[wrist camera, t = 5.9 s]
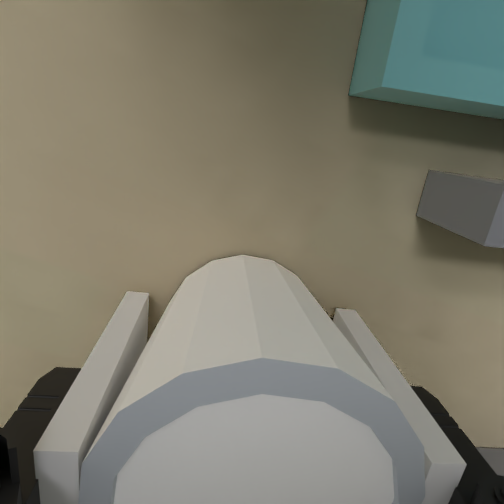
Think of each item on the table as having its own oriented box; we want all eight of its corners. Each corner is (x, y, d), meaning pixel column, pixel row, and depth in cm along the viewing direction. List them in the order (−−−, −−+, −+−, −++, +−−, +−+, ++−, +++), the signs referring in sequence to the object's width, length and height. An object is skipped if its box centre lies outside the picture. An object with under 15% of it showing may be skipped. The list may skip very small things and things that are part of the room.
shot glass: (109, 327, 13) (-6, 528, 7) (242, 197, 12) (265, 282, 5) (240, 426, 15) (253, 657, 8) (367, 322, 14) (496, 498, 7)
